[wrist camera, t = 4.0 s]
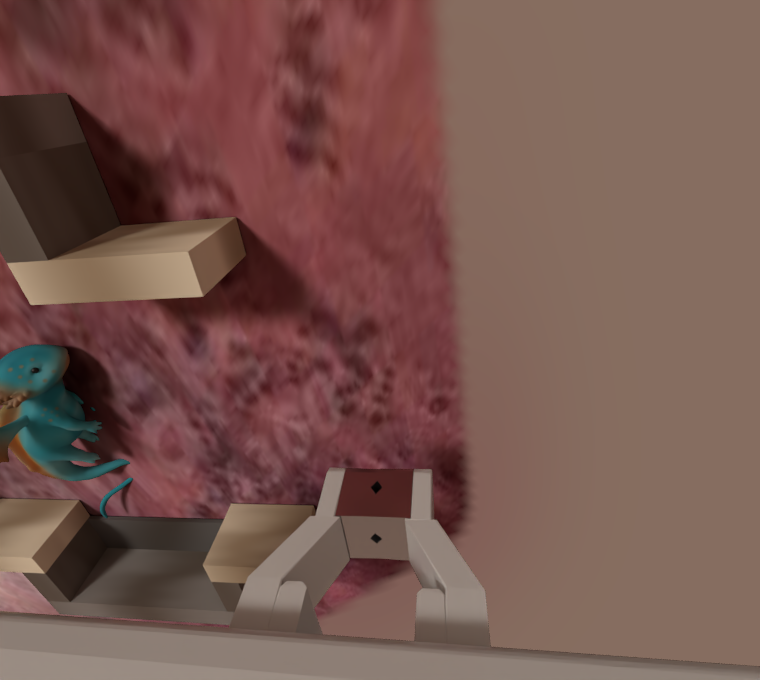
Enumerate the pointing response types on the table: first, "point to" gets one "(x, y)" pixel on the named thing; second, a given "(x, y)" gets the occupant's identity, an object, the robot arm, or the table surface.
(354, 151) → the table surface
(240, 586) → the channel
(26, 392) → the dragon figurine
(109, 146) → the table surface
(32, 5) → the table surface
